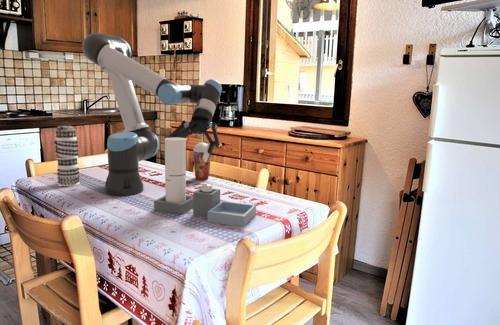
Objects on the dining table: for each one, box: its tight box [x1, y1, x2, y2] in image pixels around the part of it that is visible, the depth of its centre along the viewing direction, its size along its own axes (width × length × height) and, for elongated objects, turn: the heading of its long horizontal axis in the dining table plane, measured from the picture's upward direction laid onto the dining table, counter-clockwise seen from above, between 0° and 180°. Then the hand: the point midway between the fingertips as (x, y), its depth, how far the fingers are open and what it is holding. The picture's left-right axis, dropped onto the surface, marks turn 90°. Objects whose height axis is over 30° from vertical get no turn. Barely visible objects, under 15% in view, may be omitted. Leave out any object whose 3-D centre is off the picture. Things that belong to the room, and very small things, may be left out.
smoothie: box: [192, 136, 212, 181], centre depth 181 cm, size 8×8×20 cm
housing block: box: [192, 187, 221, 218], centre depth 134 cm, size 7×7×8 cm
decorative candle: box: [53, 125, 81, 187], centre depth 164 cm, size 9×9×25 cm
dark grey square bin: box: [153, 194, 193, 215], centre depth 139 cm, size 11×11×4 cm
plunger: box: [201, 183, 213, 193], centre depth 133 cm, size 4×4×4 cm
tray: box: [206, 200, 257, 228], centre depth 130 cm, size 13×13×4 cm
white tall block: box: [164, 137, 187, 203], centre depth 137 cm, size 7×7×25 cm
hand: (187, 158), depth 140 cm, fingers open, 13 cm apart
